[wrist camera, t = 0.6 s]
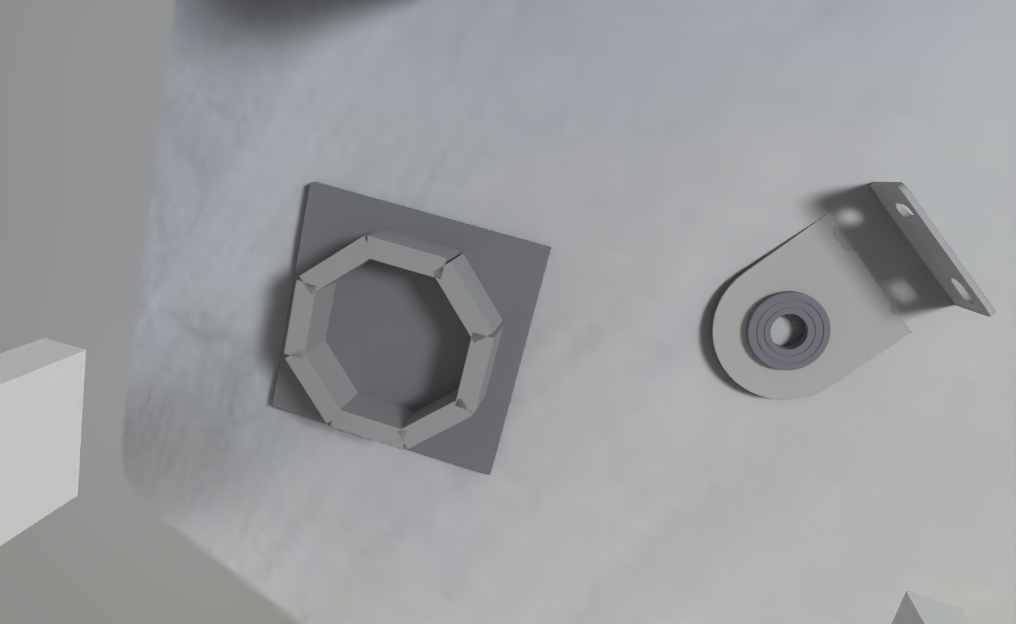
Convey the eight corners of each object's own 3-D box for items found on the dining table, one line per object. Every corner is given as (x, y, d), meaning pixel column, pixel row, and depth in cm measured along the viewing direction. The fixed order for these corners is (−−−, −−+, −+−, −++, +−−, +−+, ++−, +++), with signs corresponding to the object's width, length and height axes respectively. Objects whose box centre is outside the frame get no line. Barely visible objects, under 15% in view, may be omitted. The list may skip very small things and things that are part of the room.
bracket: (682, 311, 34) (687, 329, 31) (875, 177, 32) (904, 182, 28) (763, 419, 35) (777, 448, 31) (961, 296, 32) (999, 314, 29)
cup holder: (315, 181, 36) (286, 185, 33) (551, 247, 34) (542, 257, 31) (277, 402, 39) (248, 423, 36) (491, 470, 37) (479, 497, 35)
